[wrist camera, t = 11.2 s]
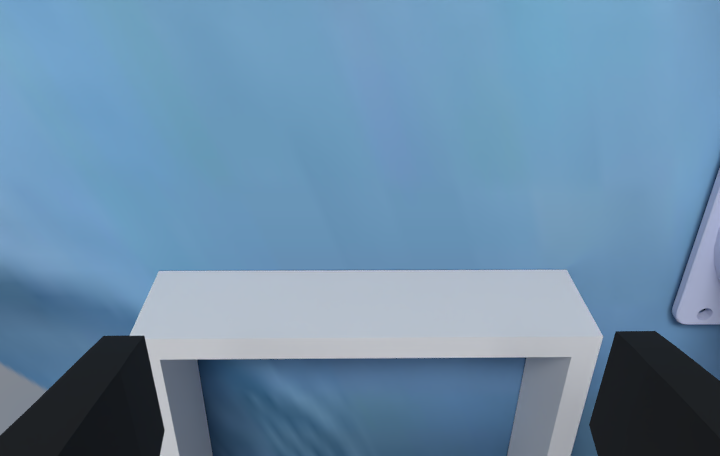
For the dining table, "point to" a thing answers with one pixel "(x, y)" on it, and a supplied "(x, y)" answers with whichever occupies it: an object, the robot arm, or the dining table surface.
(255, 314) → the white square frame
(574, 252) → the dining table surface
